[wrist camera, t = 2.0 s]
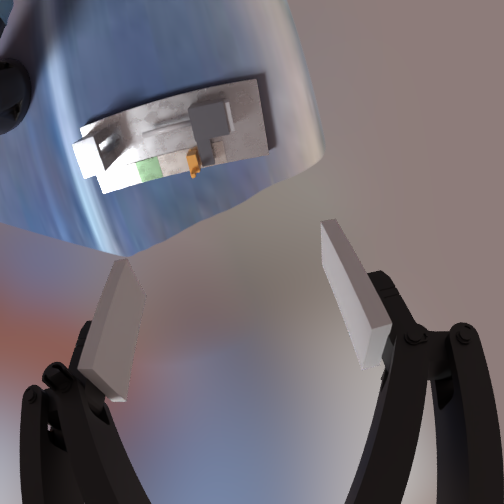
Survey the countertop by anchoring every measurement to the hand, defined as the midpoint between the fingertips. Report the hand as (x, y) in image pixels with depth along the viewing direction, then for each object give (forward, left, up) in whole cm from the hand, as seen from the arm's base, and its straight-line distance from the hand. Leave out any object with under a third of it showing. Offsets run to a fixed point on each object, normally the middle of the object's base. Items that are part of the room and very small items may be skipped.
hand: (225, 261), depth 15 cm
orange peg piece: (-6, -6, -35) cm, 36 cm away
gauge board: (-9, -1, -38) cm, 39 cm away
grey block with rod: (-6, -2, -36) cm, 36 cm away
